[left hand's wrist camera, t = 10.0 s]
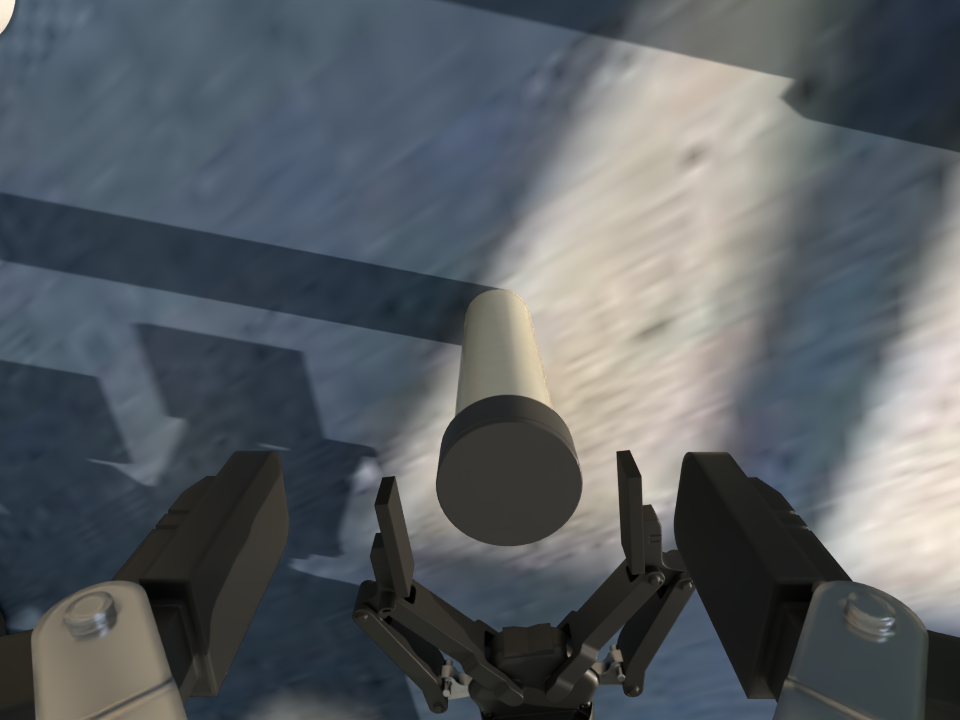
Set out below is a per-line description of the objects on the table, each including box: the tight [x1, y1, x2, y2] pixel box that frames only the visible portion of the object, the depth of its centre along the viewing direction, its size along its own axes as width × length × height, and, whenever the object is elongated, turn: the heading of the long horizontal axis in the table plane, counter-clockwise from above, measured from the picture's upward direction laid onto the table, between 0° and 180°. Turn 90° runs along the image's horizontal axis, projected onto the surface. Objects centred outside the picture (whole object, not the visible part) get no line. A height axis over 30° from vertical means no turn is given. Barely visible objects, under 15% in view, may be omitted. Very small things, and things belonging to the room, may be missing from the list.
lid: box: [436, 395, 583, 546], centre depth 21 cm, size 5×5×2 cm
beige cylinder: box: [455, 289, 554, 416], centre depth 28 cm, size 4×4×18 cm
